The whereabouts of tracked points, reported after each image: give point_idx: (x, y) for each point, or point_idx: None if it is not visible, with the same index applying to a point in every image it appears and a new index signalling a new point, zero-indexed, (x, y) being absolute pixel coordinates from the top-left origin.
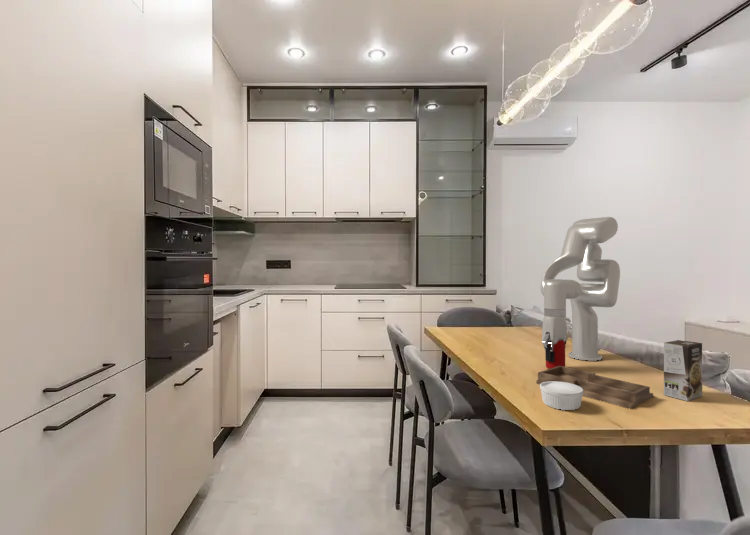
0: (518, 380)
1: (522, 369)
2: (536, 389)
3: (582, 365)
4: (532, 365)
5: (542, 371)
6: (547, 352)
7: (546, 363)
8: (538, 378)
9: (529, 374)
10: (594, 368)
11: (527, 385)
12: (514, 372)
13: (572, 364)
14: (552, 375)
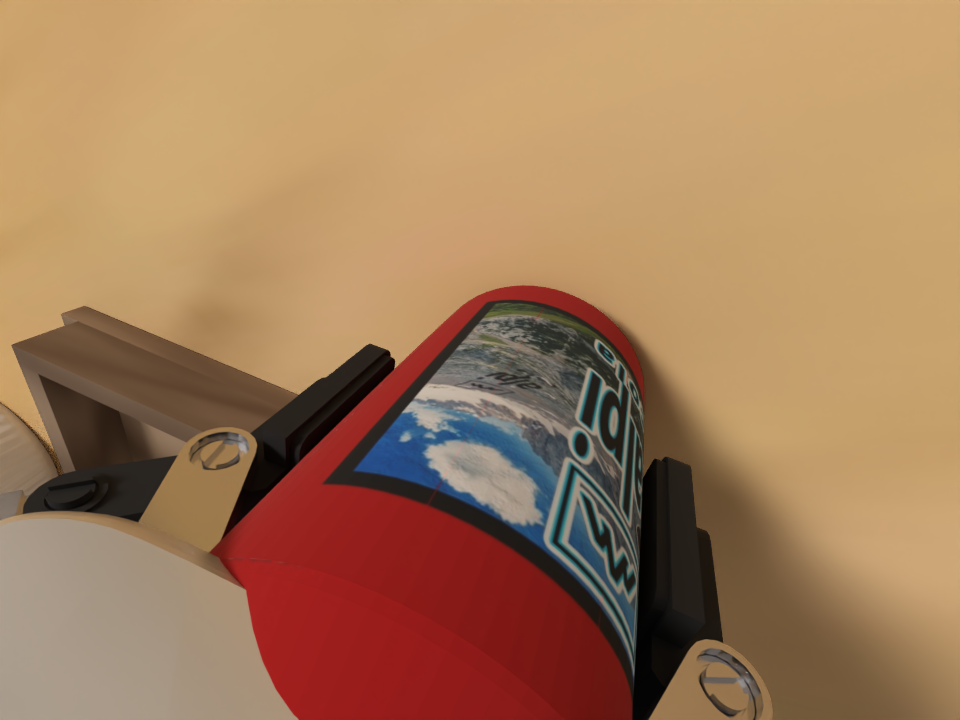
0: (15, 172)
1: (279, 32)
2: (21, 329)
3: (923, 613)
4: (570, 59)
5: (56, 370)
6: (257, 444)
7: (445, 322)
8: (67, 328)
9: (194, 191)
10: (808, 672)
11: (13, 266)
12: (118, 12)
13: (941, 531)
14: (56, 437)
